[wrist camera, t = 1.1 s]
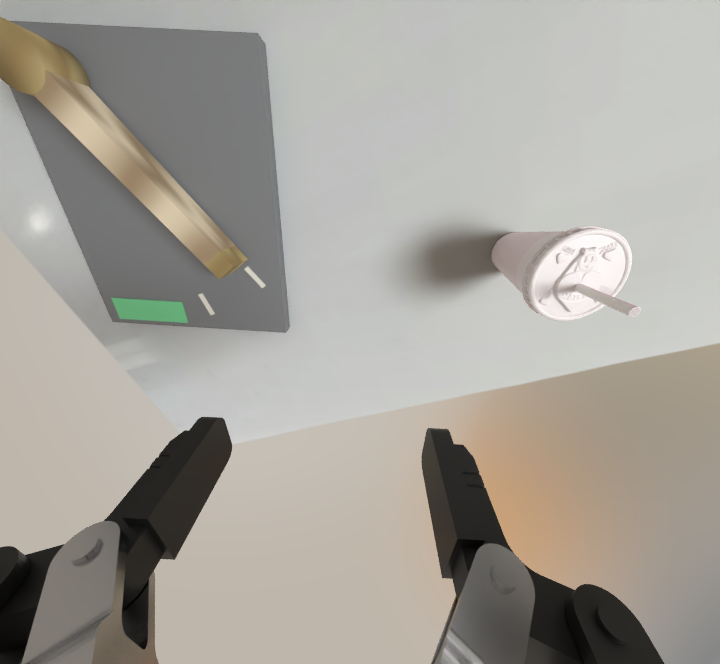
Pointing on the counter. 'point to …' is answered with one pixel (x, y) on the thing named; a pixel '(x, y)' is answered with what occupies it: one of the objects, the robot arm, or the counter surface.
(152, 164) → the dial lever
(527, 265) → the smoothie
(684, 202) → the counter surface
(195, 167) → the dial plate
